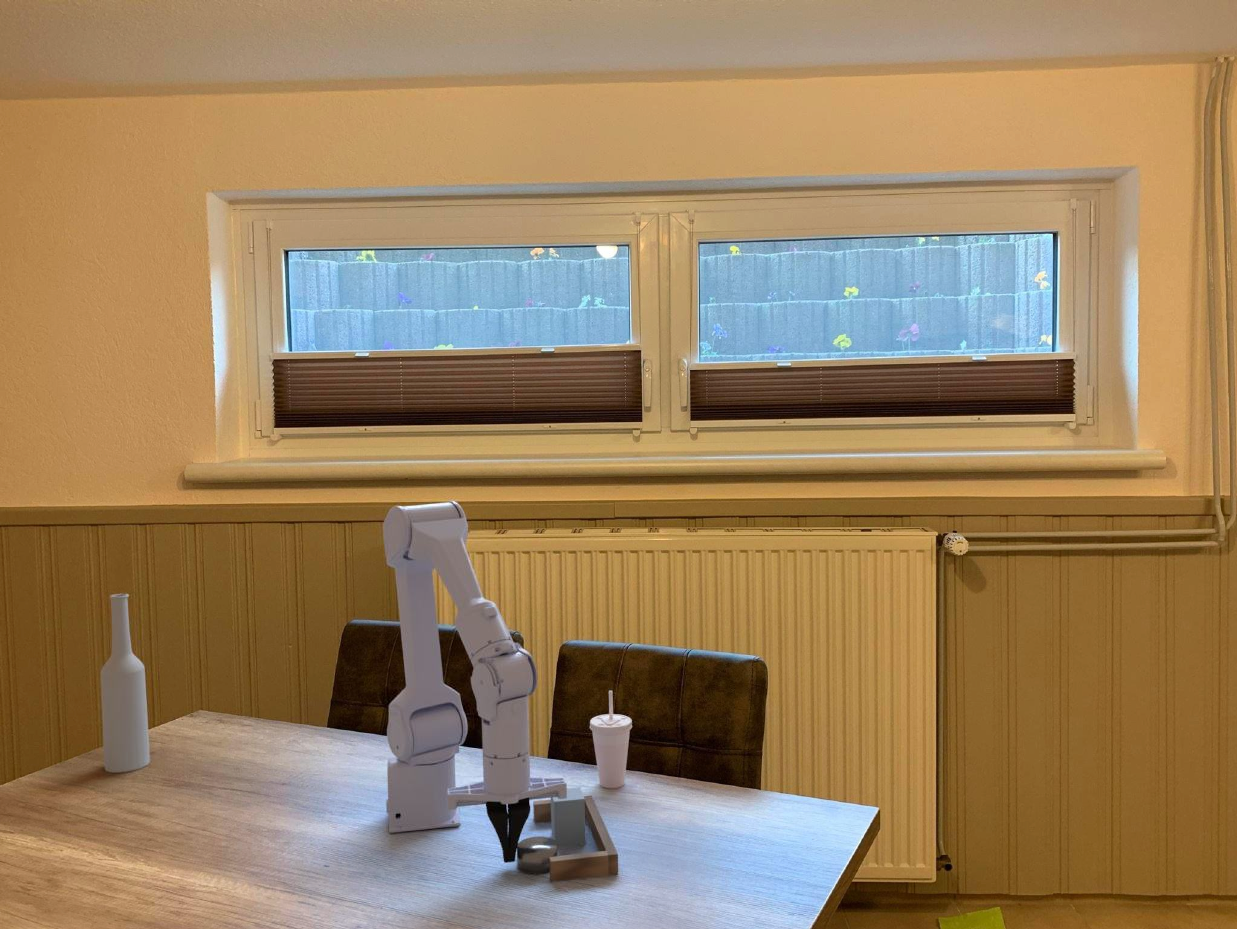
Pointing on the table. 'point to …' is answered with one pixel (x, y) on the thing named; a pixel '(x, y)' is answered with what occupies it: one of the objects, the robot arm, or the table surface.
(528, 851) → the grey puck
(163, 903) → the table surface
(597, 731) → the smoothie
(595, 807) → the walnut bay
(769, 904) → the table surface
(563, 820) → the grey block
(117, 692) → the bottle
